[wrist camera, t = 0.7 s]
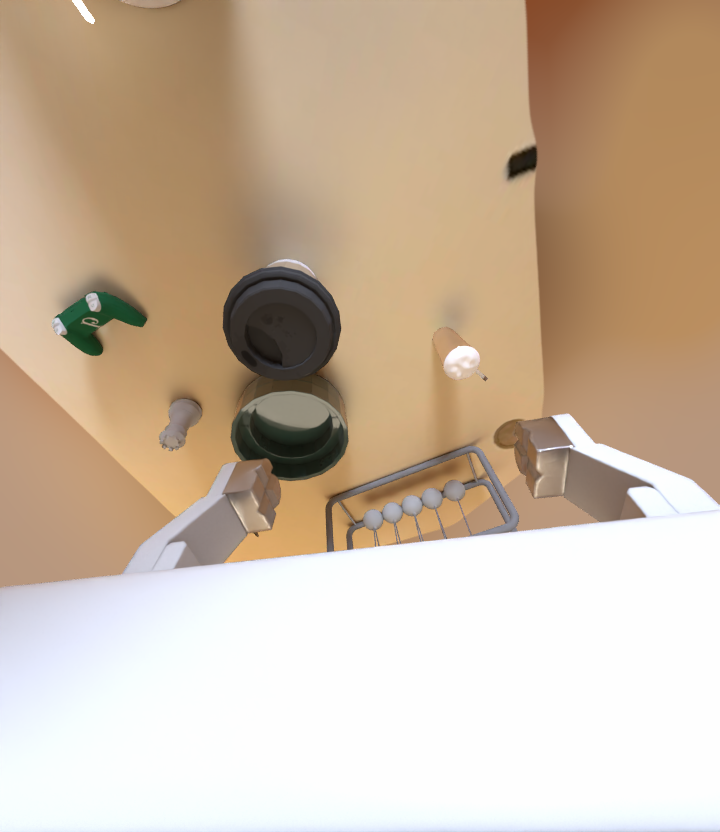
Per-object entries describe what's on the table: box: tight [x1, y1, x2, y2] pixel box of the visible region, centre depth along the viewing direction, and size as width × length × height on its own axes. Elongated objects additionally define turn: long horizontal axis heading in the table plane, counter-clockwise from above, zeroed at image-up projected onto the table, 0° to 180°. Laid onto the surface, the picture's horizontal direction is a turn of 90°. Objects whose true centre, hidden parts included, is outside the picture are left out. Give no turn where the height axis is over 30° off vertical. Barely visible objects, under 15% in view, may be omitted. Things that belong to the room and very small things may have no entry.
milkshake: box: [432, 327, 488, 381], centre depth 48 cm, size 5×5×10 cm
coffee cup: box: [223, 259, 341, 381], centre depth 40 cm, size 11×11×15 cm
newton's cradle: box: [326, 446, 519, 552], centre depth 62 cm, size 30×10×18 cm, turn 113°
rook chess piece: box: [159, 399, 202, 451], centre depth 51 cm, size 4×4×8 cm
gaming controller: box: [52, 291, 147, 356], centre depth 44 cm, size 9×4×6 cm
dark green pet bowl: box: [231, 374, 348, 481], centre depth 54 cm, size 16×16×6 cm
